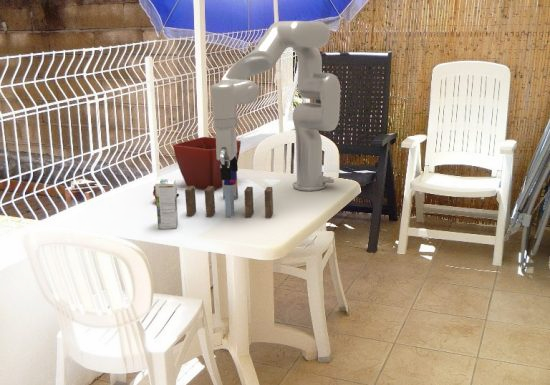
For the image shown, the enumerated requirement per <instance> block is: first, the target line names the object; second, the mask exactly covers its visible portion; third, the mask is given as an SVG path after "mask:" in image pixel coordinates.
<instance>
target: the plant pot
mask: <svg viewBox="0 0 550 385" xmlns="http://www.w3.org/2000/svg"><path fill="white" fill-rule="evenodd" d="M236 140H237V154H236V155H237V163H238V160H239V157H240V151H241V144H242V140H238V139H236ZM172 148H173V152H174V156H175V159H176V163H177V167H178V169H179V172H180V174H181V176H182V178H183V180H184V182H185V185H186V186H187V188H188V187H189V186H195V189H200V190H205V189H206V188H207V187H208V186H214V191H215V190H217V189H220V188H223V186H222V179H221V169H220V162H221V161H220V160H219V161H218V160H217V155H216V137H212V136H211V137H209V136H202V137H198V138H195V139H190V140H187V141H186V140H185V141H182V142H179V143H176V144H175V143H174V144H173V145H172ZM226 162H227V161H226Z"/></svg>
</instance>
